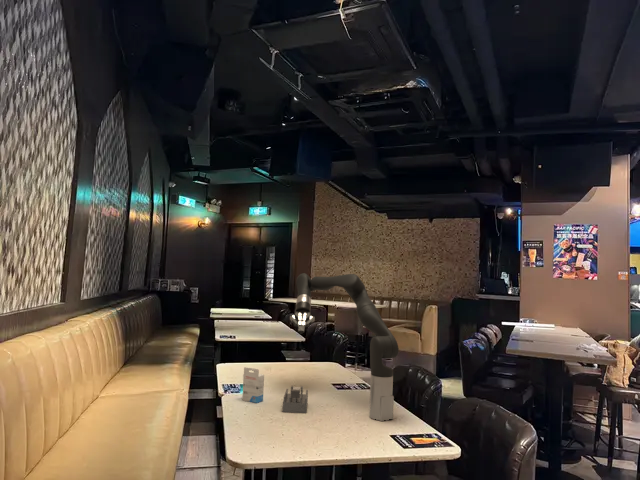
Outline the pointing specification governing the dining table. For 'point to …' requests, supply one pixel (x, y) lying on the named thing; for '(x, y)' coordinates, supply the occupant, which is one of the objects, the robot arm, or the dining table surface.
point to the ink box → (252, 385)
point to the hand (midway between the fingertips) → (301, 332)
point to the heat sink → (295, 401)
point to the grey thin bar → (296, 388)
